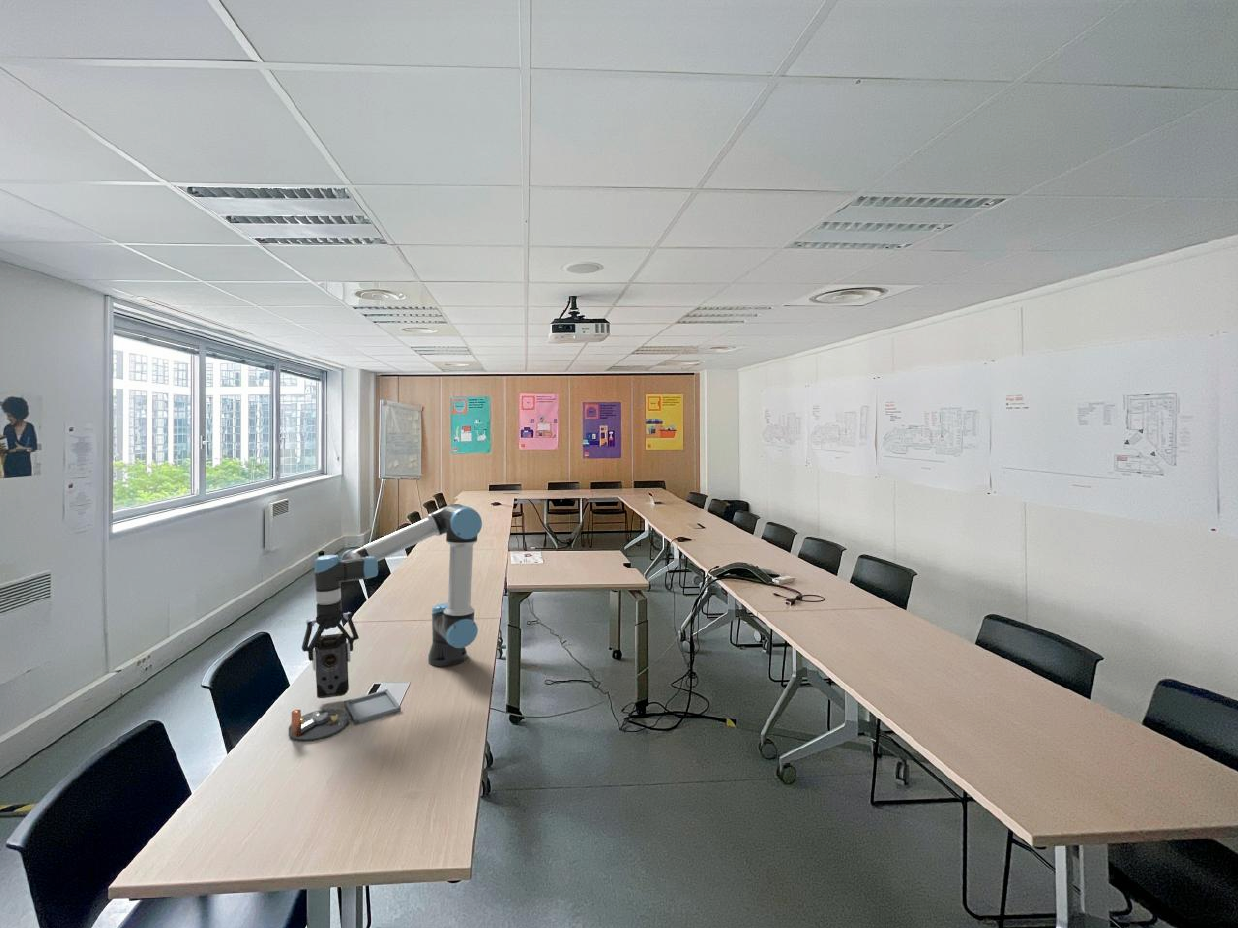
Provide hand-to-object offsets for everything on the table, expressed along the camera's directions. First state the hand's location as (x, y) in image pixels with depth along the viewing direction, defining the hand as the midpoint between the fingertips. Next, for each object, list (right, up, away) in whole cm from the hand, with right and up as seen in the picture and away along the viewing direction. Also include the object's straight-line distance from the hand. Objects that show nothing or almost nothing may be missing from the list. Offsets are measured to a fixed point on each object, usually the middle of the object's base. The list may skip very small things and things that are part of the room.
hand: (331, 664), depth 187 cm
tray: (+16, -13, -4) cm, 21 cm away
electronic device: (0, -10, +1) cm, 10 cm away
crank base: (+4, -14, -15) cm, 21 cm away
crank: (+3, -12, -18) cm, 22 cm away
